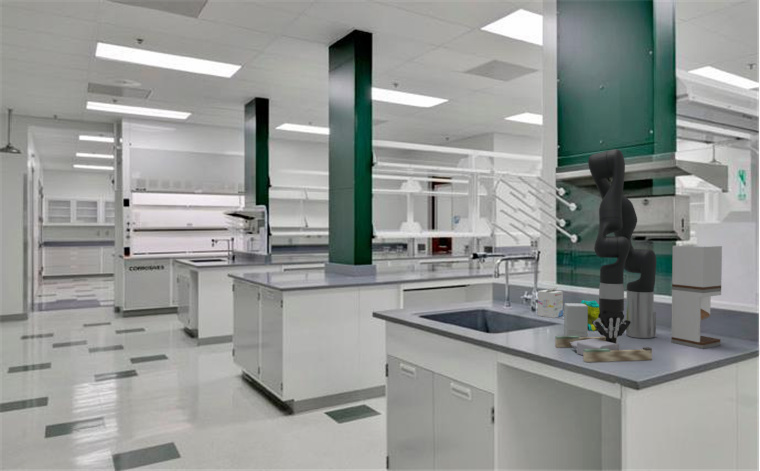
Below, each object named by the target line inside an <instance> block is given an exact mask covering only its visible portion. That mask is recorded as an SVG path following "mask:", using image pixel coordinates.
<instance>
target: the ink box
mask: <svg viewBox="0 0 760 471" xmlns="http://www.w3.org/2000/svg"><path fill="white" fill-rule="evenodd" d="M557 289H558V287H557V286H556V287H552V288H547V289H543V290H538V291H537V316H538V317H546V318H552V319H555V318H558V317H564V307H563V306H564V304H563V303H564V302H563V301H564V292H563V290H557Z"/></svg>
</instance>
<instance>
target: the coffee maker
mask: <svg viewBox="0 0 760 471" xmlns="http://www.w3.org/2000/svg"><path fill="white" fill-rule="evenodd" d="M722 255H723V246H722V245H717V246H715V245H714V246H713V245H712V246H695V245H694V244H691V245H689V244H688V245H685V244H683V245H681V244H680V245H672V262H671V264H672V271H671V272H672V273H671V277H672V278H671V279H672V280H671V334H670V335H671V338H670V339H671V344H672V343H673V344H677V345H682V346H686V347H691V348H696V349H699V350H700V349H701V350H704V349H709V348H713V347H717V346H721V339H720V338H717V337H710V336H705V335H701V321H703V320H706V319H709V318H710V317H711V302H712V301H711V297H714V296H722V270H723V269H722V266H723V264H722V262H723V260H722V258H723V256H722Z"/></svg>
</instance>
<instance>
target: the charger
mask: <svg viewBox="0 0 760 471" xmlns="http://www.w3.org/2000/svg"><path fill="white" fill-rule="evenodd" d="M570 343H571V346H572V347H571V348H575V349H576V353H577V354H576V355H580V356H583V352H584V349H610V350H620V344H619V343H617V344H616V343H611V342H607V341H603V340H599V339H594V338H593V339H586V340H579V341H574V342H573V343H572V342H570Z"/></svg>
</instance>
